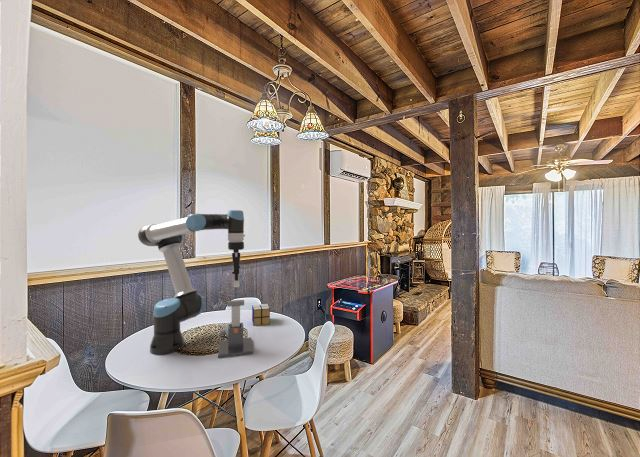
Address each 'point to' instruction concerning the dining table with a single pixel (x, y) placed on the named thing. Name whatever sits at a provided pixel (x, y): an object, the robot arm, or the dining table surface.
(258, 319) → the puzzle cube
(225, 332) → the bunny figurine
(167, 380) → the dining table surface
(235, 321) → the post
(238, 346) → the jack stand base
